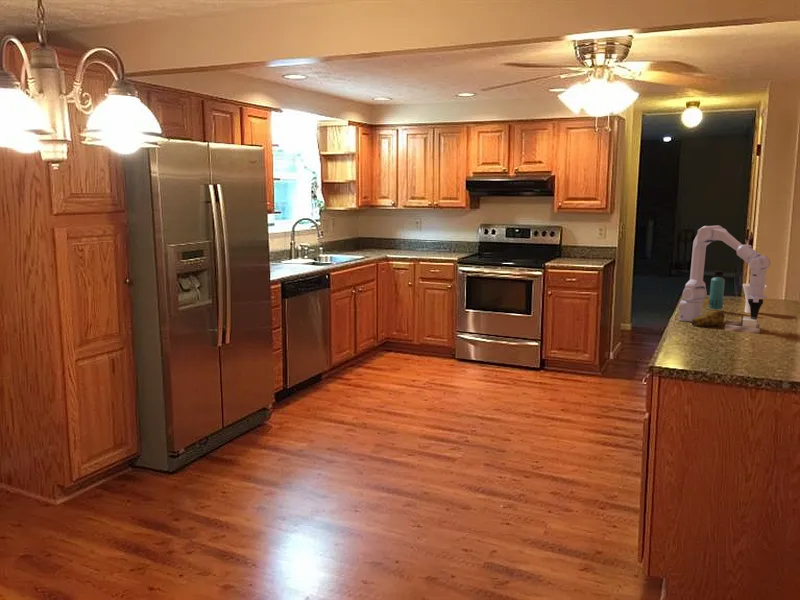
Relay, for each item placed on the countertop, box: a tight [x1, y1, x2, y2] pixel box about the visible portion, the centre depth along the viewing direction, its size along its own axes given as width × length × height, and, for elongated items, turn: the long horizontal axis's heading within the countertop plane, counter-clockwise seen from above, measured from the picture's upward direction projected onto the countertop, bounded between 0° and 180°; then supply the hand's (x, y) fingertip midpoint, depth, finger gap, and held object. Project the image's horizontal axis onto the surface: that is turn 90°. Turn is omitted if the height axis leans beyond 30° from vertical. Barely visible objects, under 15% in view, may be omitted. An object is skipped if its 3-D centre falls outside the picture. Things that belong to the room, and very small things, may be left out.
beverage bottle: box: [708, 270, 726, 310], centre depth 327 cm, size 6×7×20 cm
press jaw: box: [740, 315, 758, 328], centre depth 283 cm, size 6×9×8 cm, turn 152°
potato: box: [691, 309, 725, 328], centre depth 290 cm, size 8×13×8 cm, turn 68°
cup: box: [742, 282, 768, 314], centre depth 325 cm, size 10×10×14 cm
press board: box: [724, 319, 761, 335], centre depth 285 cm, size 13×14×3 cm
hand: (754, 316), depth 282 cm, fingers closed on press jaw, 2 cm apart
